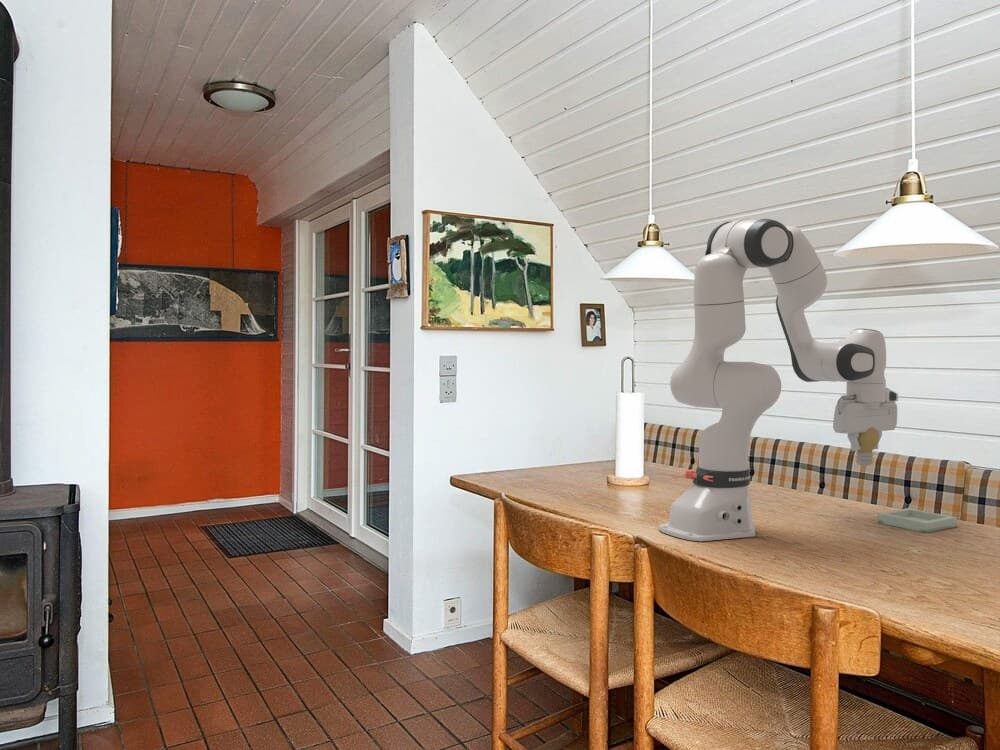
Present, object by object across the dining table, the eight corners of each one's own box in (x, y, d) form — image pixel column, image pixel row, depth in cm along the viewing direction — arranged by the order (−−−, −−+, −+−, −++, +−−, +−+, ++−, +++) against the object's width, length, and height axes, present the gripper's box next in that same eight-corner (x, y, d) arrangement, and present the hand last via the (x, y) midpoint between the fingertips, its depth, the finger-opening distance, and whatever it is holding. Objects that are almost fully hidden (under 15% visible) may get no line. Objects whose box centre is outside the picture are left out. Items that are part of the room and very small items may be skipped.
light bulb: (849, 465, 191) (850, 425, 191) (851, 462, 197) (851, 423, 197) (878, 467, 188) (879, 426, 188) (878, 464, 194) (879, 424, 194)
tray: (926, 532, 176) (926, 523, 176) (877, 522, 187) (877, 513, 187) (956, 526, 182) (957, 517, 182) (908, 516, 192) (908, 508, 192)
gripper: (849, 396, 184) (848, 454, 185) (902, 394, 194) (901, 449, 195) (827, 394, 190) (825, 451, 190) (879, 393, 200) (878, 446, 200)
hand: (864, 450), depth 192 cm, fingers closed on light bulb, 5 cm apart
